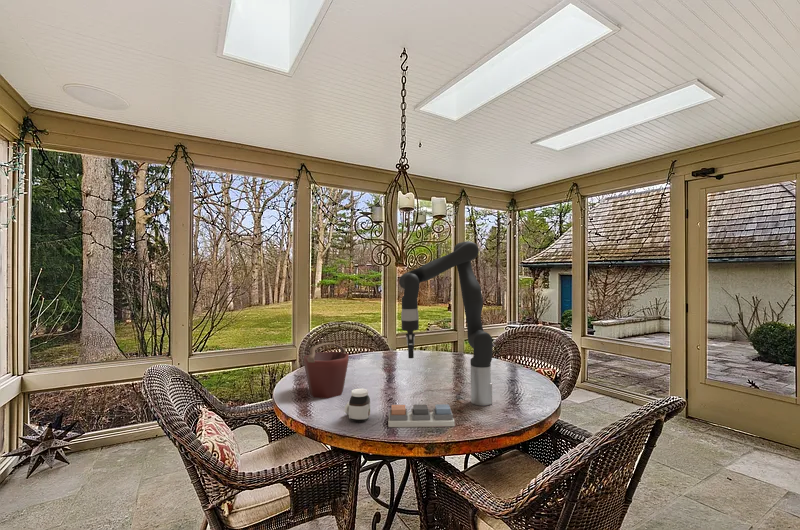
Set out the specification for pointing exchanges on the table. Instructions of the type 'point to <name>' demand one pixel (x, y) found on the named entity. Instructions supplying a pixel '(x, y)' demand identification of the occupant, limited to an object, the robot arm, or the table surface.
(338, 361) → the bucket
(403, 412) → the terracotta key
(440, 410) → the slate key
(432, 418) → the key panel
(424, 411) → the charcoal key
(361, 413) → the spread jar
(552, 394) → the table surface
